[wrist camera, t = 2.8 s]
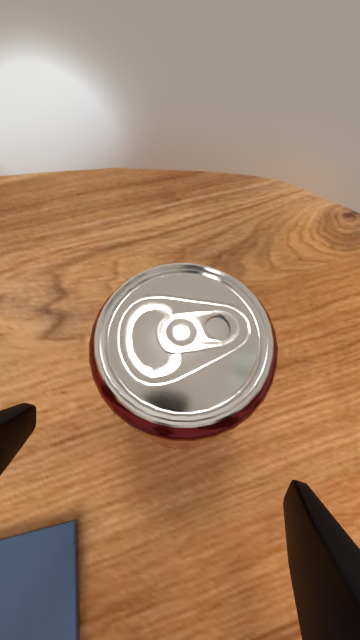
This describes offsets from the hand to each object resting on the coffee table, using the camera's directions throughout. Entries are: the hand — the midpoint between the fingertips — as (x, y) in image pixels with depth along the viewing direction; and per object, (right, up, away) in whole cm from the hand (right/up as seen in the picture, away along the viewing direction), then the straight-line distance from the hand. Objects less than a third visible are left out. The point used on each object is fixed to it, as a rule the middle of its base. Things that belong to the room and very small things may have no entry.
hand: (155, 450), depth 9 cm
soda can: (+1, -2, +12) cm, 12 cm away
